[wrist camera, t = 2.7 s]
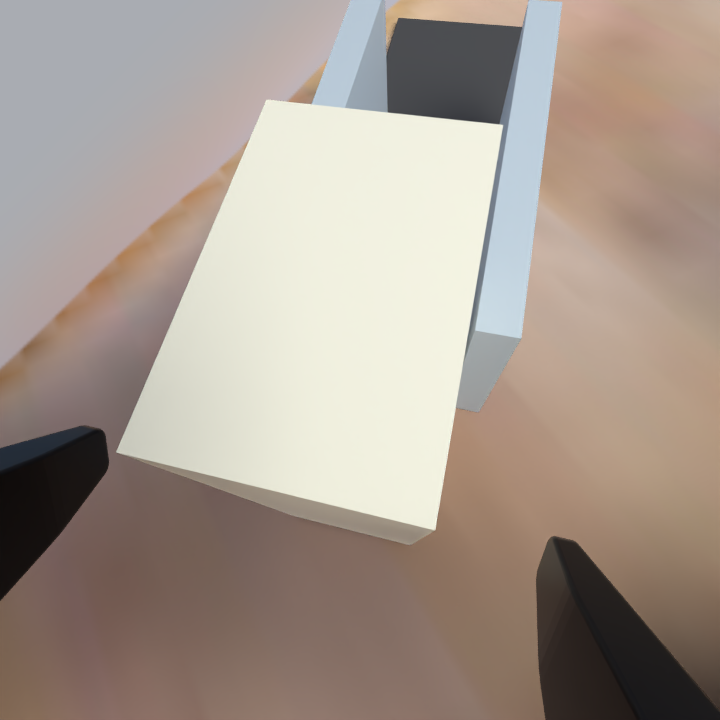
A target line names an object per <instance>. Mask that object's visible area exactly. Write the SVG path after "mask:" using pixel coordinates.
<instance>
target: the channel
mask: <svg viewBox="0 0 720 720" xmlns="http://www.w3.org/2000/svg"><path fill="white" fill-rule="evenodd" d="M561 7H562V2H555V1H539V0H529V1H528V6H527V10H526V14H525V18H524V22H523V27H522V31H521V35H520V39H519V43H518V48H517V52H516V56H515V60H514V64H513V69H512V73H511V77H510V81H509V86H508V90H507V94H506V98H505V102H504V107H503V111H502V115H501V119H500V123H499V125H503V129H502V135H501V141H500V147H499V153H498V159H497V165H496V171H495V177H494V183H493V189H492V195H491V200H490V206H489V212H488V218H487V224H486V230H485V236H484V242H483V248H482V254H481V260H480V266H479V272H478V278H477V284H476V290H475V296H474V302H473V308H472V314H471V320H470V326H469V332H468V337H467V343H466V349H465V355H464V361H463V367H462V373H461V379H460V385H459V391H458V397H457V403H456V408H459V409H464V410H469V411H474V412H479V411H480V409H481V407H482V406H483V404H484V402H485V400H486V399H487V397H488V395H489V394H490V392H491V390H492V388H493V387H494V385H495V383H496V381H497V380H498V378H499V376H500V374H501V373H502V371H503V369H504V368H505V366H506V364H507V362H508V361H509V359H510V357H511V355H512V354H513V352H514V350H515V348H516V347H517V345H518V343H519V341H520V340H521V336H522V328H523V319H524V311H525V303H526V295H527V287H528V278H529V270H530V262H531V254H532V245H533V237H534V229H535V221H536V213H537V204H538V196H539V188H540V180H541V172H542V163H543V155H544V147H545V139H546V131H547V122H548V114H549V106H550V98H551V89H552V81H553V73H554V65H555V57H556V48H557V40H558V32H559V24H560V16H561ZM312 105H322V106H331V107H340V108H350V109H359V110H368V111H378V112H387V113H388V108H387V63H386V18H385V0H351V1H350V4H349V6H348V9H347V12H346V14H345V17H344V20H343V22H342V25H341V28H340V30H339V33H338V35H337V38H336V41H335V43H334V46H333V49H332V51H331V54H330V57H329V59H328V62H327V65H326V67H325V70H324V73H323V75H322V78H321V81H320V83H319V86H318V89H317V91H316V94H315V97H314V99H313V102H312Z"/></svg>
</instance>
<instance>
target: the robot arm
mask: <svg viewBox="0 0 720 720" xmlns="http://www.w3.org/2000/svg"><path fill="white" fill-rule="evenodd" d="M108 466H109V457H108V450H107V443H106V436H105V433H104V432H103V430H101V429H99V428H94V427H90V426H78V427H75V428H71V429H68V430H64V431H61V432H57V433H53V434H50V435H46V436H43V437H39V438H35V439H32V440H28V441H25V442H21V443H17V444H14V445H10V446H7V447H3V448H0V601H1V600H2V599H3V597H4V596H5V595H6V594H7V593H8V592H9V591H10V590H11V589H12V587H13V586H14V585H15V584H16V583H17V582H18V581H19V580H20V578H21V577H22V576H23V575H24V574H25V573H26V572H27V571H28V570H29V568H30V567H31V566H32V565H33V564H34V563H35V562H36V561H37V559H38V558H39V557H40V556H41V555H42V554H43V553H44V552H45V551H46V549H47V548H48V547H49V546H50V545H51V544H52V543H53V541H54V540H55V539H56V538H57V537H58V536H59V534H60V533H61V532H62V531H63V529H64V528H65V527H66V525H67V524H68V523H69V522H70V520H71V519H72V518H73V516H74V515H75V513H76V512H77V511H78V509H79V508H80V507H81V505H82V504H83V503H84V501H85V500H86V499H87V497H88V496H89V495H90V493H91V492H92V491H93V489H94V488H95V487H96V485H97V484H98V483H99V481H100V480H101V479H102V477H103V476H104V475H105V473H106V471H107V469H108ZM536 593H537V629H538V660H539V674H540V683H541V690H542V698H543V705H544V712H545V719H546V720H720V711H719V710H718V708H717V707H716V706H715V705H714V704H713V702H712V701H711V700H710V699H709V698H708V697H707V695H706V694H705V693H704V692H703V691H702V689H701V688H700V687H699V686H698V685H697V684H696V682H695V681H694V680H693V679H692V678H691V676H690V675H689V674H688V673H687V672H686V671H685V669H684V668H683V667H682V666H681V665H680V664H679V662H678V661H677V660H676V659H675V658H674V656H673V655H672V654H671V653H670V652H669V651H668V649H667V648H666V647H665V646H664V645H663V643H662V642H661V641H660V640H659V639H658V638H657V636H656V635H655V634H654V633H653V632H652V631H651V629H650V628H649V627H648V626H647V625H646V623H645V622H644V621H643V620H642V619H641V618H640V616H639V615H638V614H637V613H636V612H635V610H634V609H633V608H632V607H631V606H630V605H629V603H628V602H627V601H626V600H625V599H624V597H623V596H622V595H621V594H620V593H619V592H618V590H617V589H616V588H615V587H614V586H613V585H612V583H611V582H610V581H609V580H608V579H607V577H606V576H605V575H604V574H603V573H602V572H601V570H600V569H599V568H598V567H597V566H596V564H595V563H594V562H593V561H592V560H591V559H590V557H589V556H588V555H587V554H586V553H585V552H584V550H583V549H582V548H581V547H580V546H579V544H578V543H576V542H575V541H573V540H570V539H565V538H561V537H557V536H553V537H551V538H550V539H549V540H548V542H547V545H546V548H545V550H544V553H543V556H542V559H541V561H540V564H539V567H538V571H537V577H536Z"/></svg>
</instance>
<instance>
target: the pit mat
mask: <svg viewBox="0 0 720 720" xmlns="http://www.w3.org/2000/svg"><path fill="white" fill-rule="evenodd" d="M521 31H522V27H514V26H500V25H487V24H473V23H460V22H447V21H433V20H420V19H406V18H398V21H397V24H396V27H395V31H394V34H393V37H392V40H391V43H390V47H389V50H388V53H387V56H386V63H387V108H388V113H396V114H406V115H415V116H424V117H434V118H443V119H453V120H462V121H471V122H481V123H490V124H499V123H500V119H501V115H502V111H503V107H504V102H505V98H506V94H507V90H508V86H509V81H510V77H511V73H512V69H513V64H514V60H515V56H516V52H517V48H518V43H519V39H520V35H521Z"/></svg>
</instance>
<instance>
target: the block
mask: <svg viewBox="0 0 720 720" xmlns="http://www.w3.org/2000/svg"><path fill="white" fill-rule="evenodd" d="M502 129H503V125H499V124H490V123H481V122H471V121H462V120H453V119H443V118H434V117H424V116H415V115H406V114H396V113H387V112H378V111H368V110H359V109H350V108H340V107H331V106H322V105H312V104H303V103H293V102H284V101H273V100H266V103H265V105H264V107H263V110H262V112H261V114H260V117H259V119H258V121H257V124H256V126H255V128H254V131H253V133H252V135H251V138H250V140H249V142H248V145H247V147H246V149H245V152H244V154H243V156H242V159H241V161H240V163H239V166H238V168H237V170H236V173H235V175H234V177H233V180H232V182H231V184H230V187H229V189H228V191H227V194H226V196H225V198H224V201H223V203H222V205H221V208H220V210H219V212H218V215H217V217H216V219H215V222H214V224H213V227H212V229H211V231H210V234H209V236H208V238H207V241H206V243H205V245H204V248H203V250H202V252H201V255H200V257H199V259H198V262H197V264H196V266H195V269H194V271H193V273H192V276H191V278H190V280H189V283H188V285H187V287H186V290H185V292H184V294H183V297H182V299H181V301H180V304H179V306H178V308H177V311H176V313H175V315H174V318H173V320H172V323H171V325H170V327H169V330H168V332H167V334H166V337H165V339H164V341H163V344H162V346H161V348H160V351H159V353H158V355H157V358H156V360H155V362H154V365H153V367H152V369H151V372H150V374H149V376H148V379H147V381H146V383H145V386H144V388H143V390H142V393H141V395H140V397H139V400H138V402H137V404H136V407H135V409H134V411H133V414H132V416H131V418H130V421H129V423H128V426H127V428H126V430H125V433H124V435H123V437H122V440H121V442H120V444H119V447H118V449H117V451H116V453H119V454H122V455H125V456H127V457H130V458H133V459H136V460H138V461H141V462H144V463H147V464H150V465H152V466H155V467H158V468H161V469H164V470H166V471H169V472H172V473H175V474H178V475H180V476H183V477H186V478H189V479H191V480H194V481H197V482H200V483H203V484H205V485H208V486H211V487H214V488H217V489H219V490H222V491H225V492H228V493H231V494H233V495H236V496H239V497H242V498H244V499H247V500H250V501H253V502H256V503H258V504H261V505H264V506H267V507H270V508H272V509H275V510H278V511H281V512H284V513H286V514H289V515H292V516H296V517H300V518H303V519H307V520H311V521H315V522H319V523H323V524H327V525H331V526H335V527H339V528H343V529H347V530H351V531H355V532H359V533H363V534H367V535H371V536H375V537H379V538H383V539H387V540H391V541H395V542H399V543H403V544H407V545H412V544H414V543H415V542H417V541H419V540H420V539H422V538H423V537H425V536H427V535H428V534H430V533H432V532H433V531H435V528H436V522H437V516H438V510H439V504H440V498H441V492H442V486H443V480H444V474H445V469H446V463H447V457H448V451H449V445H450V439H451V433H452V427H453V421H454V415H455V409H456V403H457V397H458V391H459V385H460V379H461V373H462V367H463V361H464V355H465V349H466V343H467V337H468V332H469V326H470V320H471V314H472V308H473V302H474V296H475V290H476V284H477V278H478V272H479V266H480V260H481V254H482V248H483V242H484V236H485V230H486V224H487V218H488V212H489V206H490V200H491V195H492V189H493V183H494V177H495V171H496V165H497V159H498V153H499V147H500V141H501V135H502Z"/></svg>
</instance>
